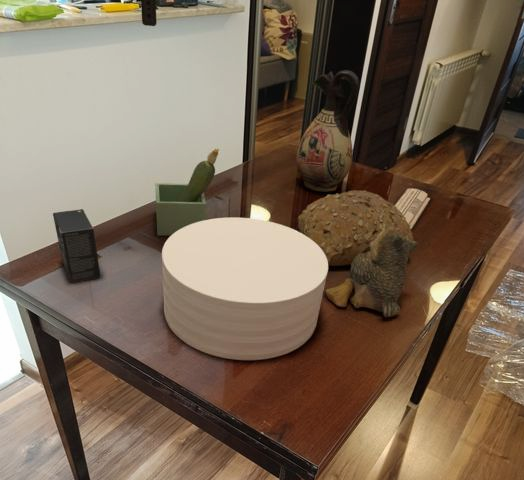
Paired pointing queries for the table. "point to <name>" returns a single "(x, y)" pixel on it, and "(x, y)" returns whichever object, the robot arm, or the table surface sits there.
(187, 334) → the plate stack
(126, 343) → the table surface
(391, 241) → the figurine
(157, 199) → the bin
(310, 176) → the ceramic jug
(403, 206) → the newspaper
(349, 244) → the bread
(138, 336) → the table surface
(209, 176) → the vegetable
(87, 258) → the box
